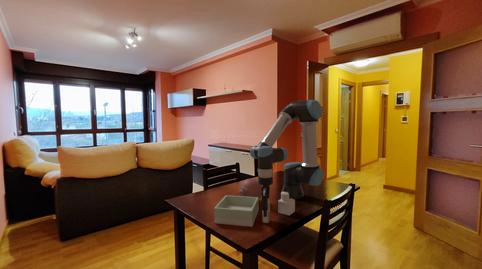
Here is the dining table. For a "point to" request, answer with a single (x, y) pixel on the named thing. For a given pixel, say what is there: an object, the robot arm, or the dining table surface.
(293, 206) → the medicine bottle
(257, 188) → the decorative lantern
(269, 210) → the dowel
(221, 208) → the box
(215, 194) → the dining table surface
